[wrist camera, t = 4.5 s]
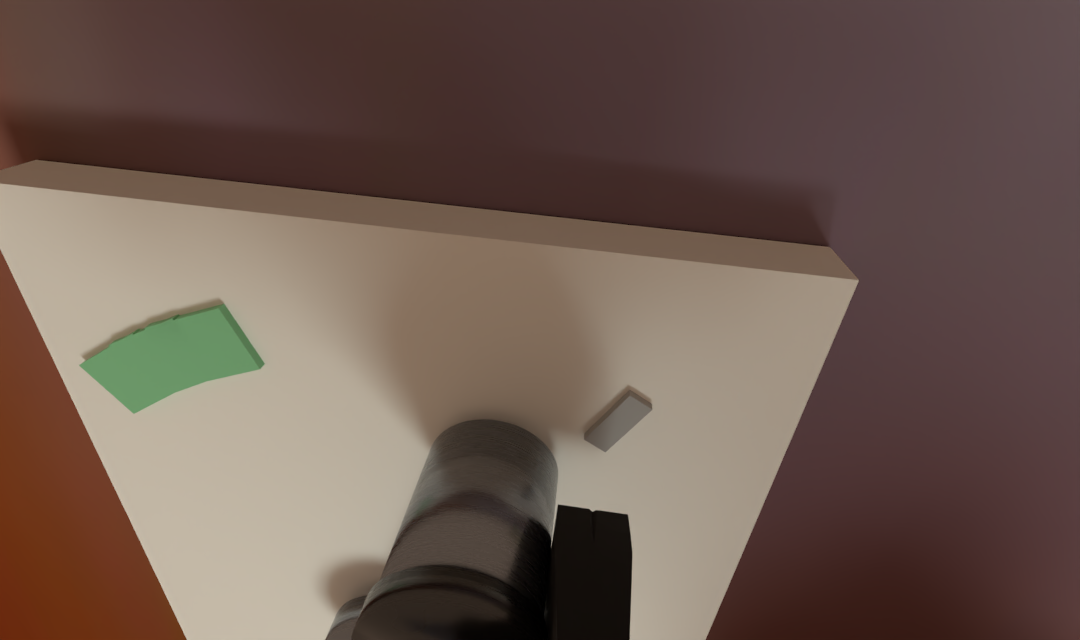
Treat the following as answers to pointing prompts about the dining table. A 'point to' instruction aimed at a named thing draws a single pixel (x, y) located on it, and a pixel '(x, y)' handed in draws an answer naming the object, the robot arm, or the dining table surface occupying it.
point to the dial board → (407, 376)
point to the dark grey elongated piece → (467, 544)
